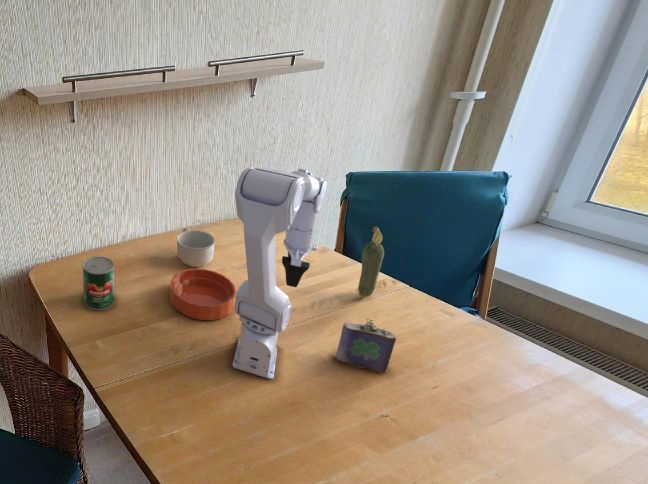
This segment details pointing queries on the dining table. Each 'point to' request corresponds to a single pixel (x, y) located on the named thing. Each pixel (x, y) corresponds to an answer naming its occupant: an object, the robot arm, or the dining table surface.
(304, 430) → the dining table surface
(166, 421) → the dining table surface
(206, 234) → the teacup
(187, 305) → the terracotta plant saucer
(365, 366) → the flask
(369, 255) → the vegetable
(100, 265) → the canned tomato
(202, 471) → the dining table surface
